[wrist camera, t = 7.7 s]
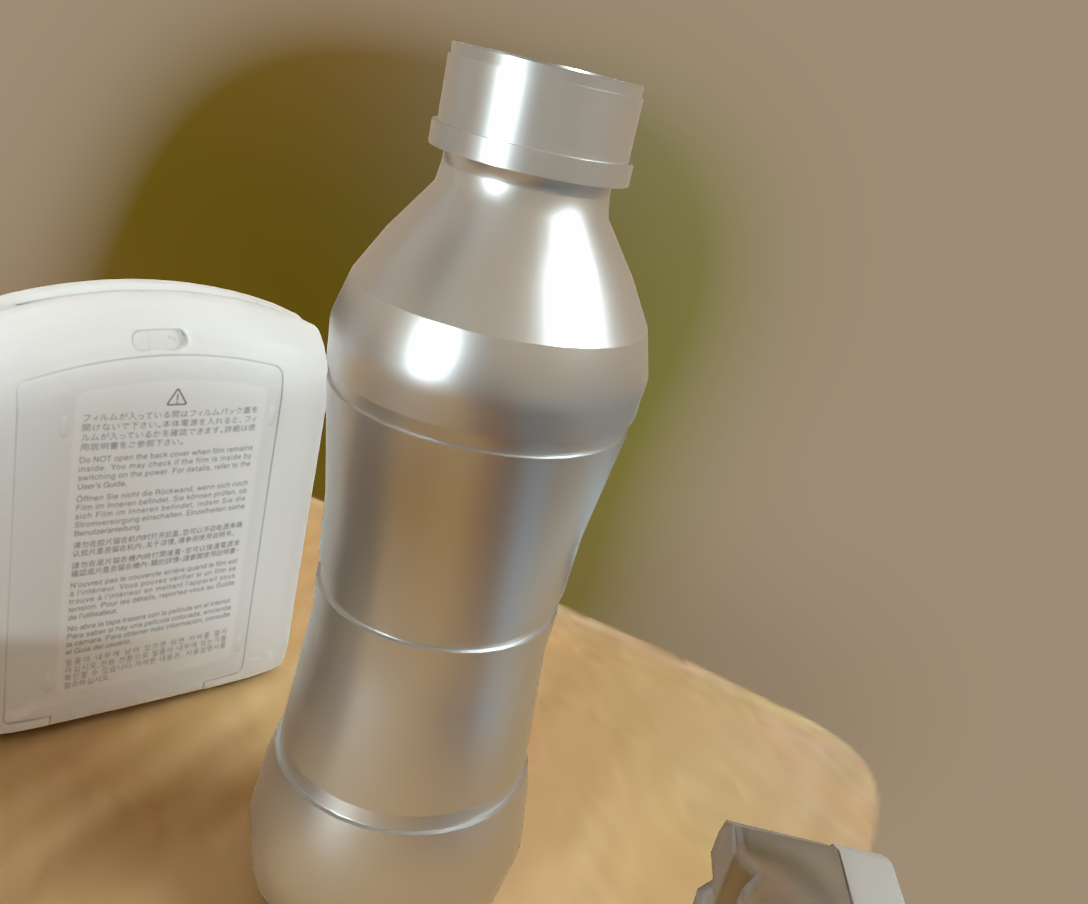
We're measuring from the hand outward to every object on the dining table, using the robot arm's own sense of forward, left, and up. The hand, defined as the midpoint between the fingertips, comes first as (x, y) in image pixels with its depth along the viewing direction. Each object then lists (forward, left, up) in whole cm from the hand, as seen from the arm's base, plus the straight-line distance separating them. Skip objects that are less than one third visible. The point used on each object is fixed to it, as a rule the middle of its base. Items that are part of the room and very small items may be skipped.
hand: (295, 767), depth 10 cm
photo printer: (-20, -3, -14) cm, 24 cm away
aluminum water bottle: (-11, +4, -14) cm, 18 cm away
